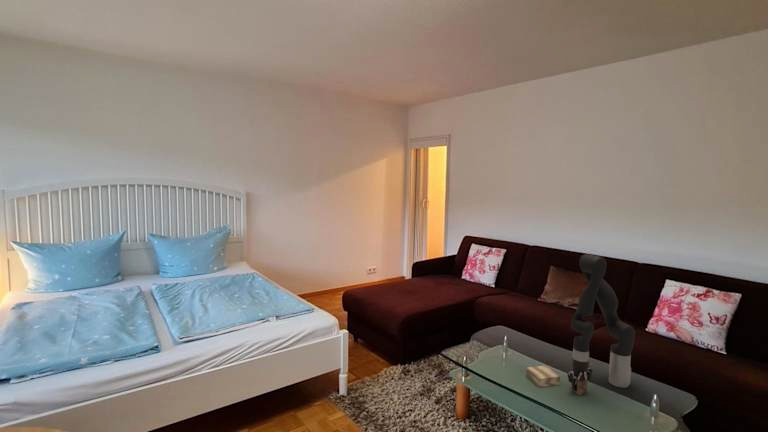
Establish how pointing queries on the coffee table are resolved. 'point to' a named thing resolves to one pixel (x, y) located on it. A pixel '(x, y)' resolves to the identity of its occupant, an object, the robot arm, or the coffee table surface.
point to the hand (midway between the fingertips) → (579, 389)
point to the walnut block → (581, 386)
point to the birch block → (542, 376)
